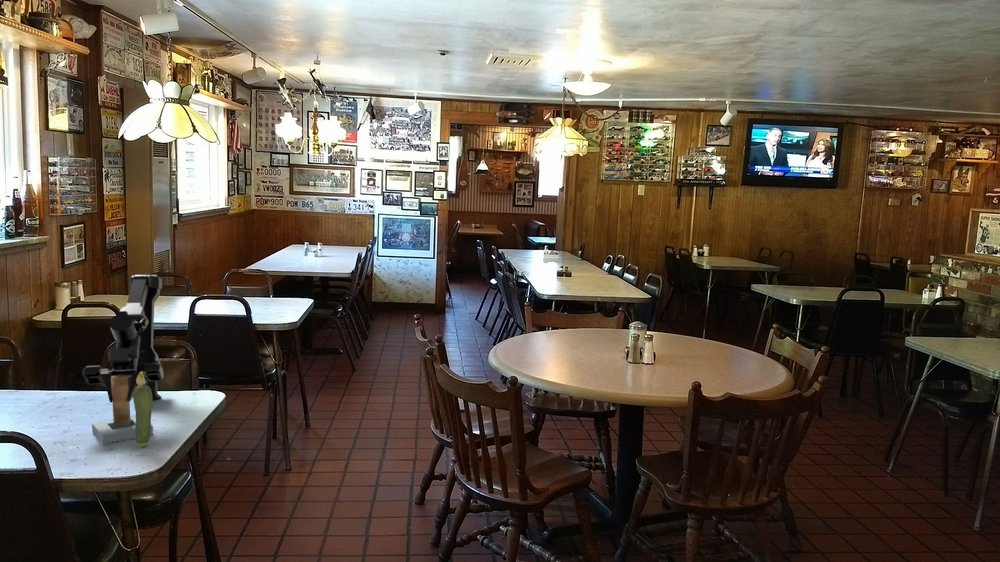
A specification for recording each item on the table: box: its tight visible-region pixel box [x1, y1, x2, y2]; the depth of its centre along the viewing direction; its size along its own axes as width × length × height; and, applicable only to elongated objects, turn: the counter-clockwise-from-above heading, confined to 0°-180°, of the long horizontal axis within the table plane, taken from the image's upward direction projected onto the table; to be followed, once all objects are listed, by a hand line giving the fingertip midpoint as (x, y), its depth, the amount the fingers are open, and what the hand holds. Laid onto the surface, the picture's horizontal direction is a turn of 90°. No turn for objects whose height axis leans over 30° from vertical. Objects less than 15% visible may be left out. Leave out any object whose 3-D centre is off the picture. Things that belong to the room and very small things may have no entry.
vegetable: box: [132, 371, 154, 449], centre depth 180 cm, size 4×4×20 cm
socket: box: [91, 414, 154, 445], centre depth 190 cm, size 12×12×2 cm
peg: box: [111, 375, 131, 426], centre depth 189 cm, size 4×4×13 cm
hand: (119, 401), depth 188 cm, fingers closed on peg, 4 cm apart
